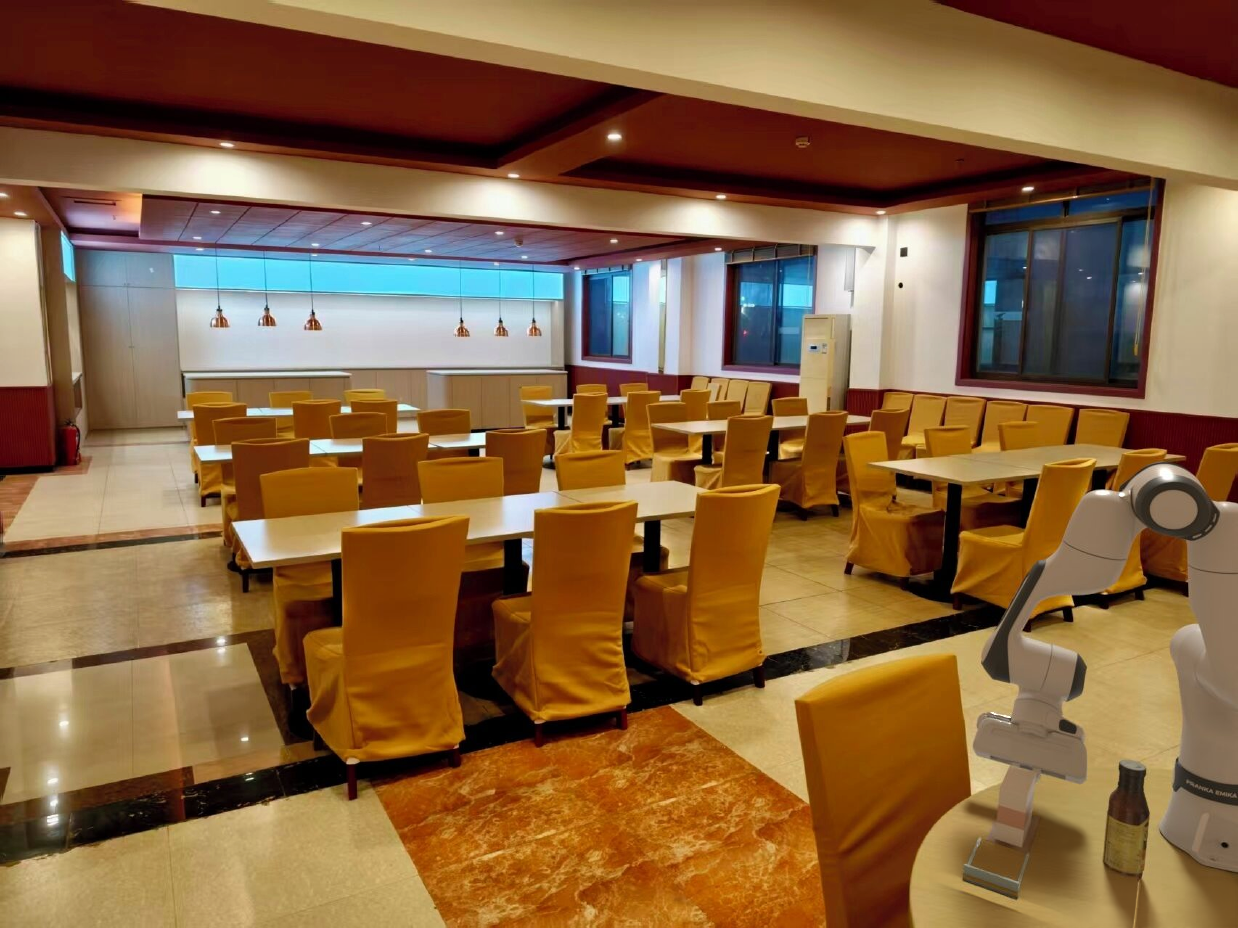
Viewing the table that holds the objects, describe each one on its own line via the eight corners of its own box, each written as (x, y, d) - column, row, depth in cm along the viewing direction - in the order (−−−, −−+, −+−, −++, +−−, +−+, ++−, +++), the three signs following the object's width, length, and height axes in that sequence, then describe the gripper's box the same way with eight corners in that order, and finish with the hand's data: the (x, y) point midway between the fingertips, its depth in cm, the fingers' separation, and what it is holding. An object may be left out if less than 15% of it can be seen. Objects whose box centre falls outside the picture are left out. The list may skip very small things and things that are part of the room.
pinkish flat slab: (1039, 825, 162) (1040, 818, 161) (1027, 861, 151) (1028, 853, 150) (999, 813, 166) (1000, 806, 165) (985, 847, 154) (986, 839, 154)
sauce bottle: (1149, 886, 144) (1162, 777, 141) (1108, 881, 145) (1121, 773, 142) (1134, 863, 151) (1147, 758, 147) (1095, 858, 152) (1107, 754, 149)
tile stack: (1031, 821, 160) (1036, 772, 159) (1021, 847, 152) (1027, 795, 150) (1005, 813, 163) (1010, 764, 161) (994, 838, 155) (999, 787, 153)
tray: (1029, 861, 150) (1030, 846, 150) (1016, 900, 140) (1018, 883, 140) (978, 844, 155) (979, 829, 155) (962, 880, 145) (964, 864, 144)
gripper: (978, 703, 173) (963, 767, 166) (1092, 730, 162) (1081, 801, 155) (981, 715, 177) (966, 779, 171) (1092, 743, 166) (1081, 812, 160)
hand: (1022, 790), depth 163 cm, fingers closed
